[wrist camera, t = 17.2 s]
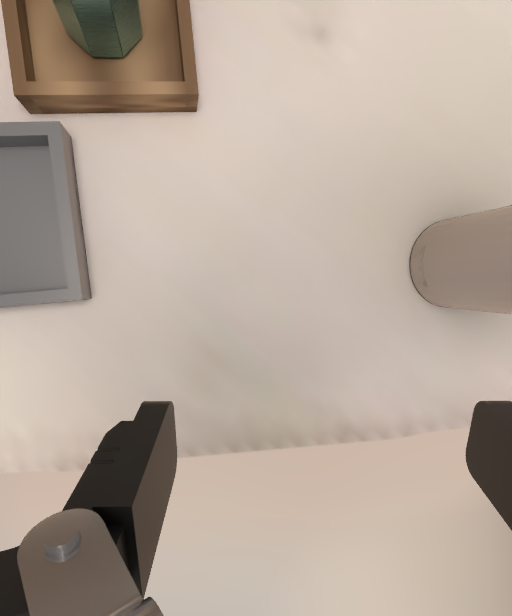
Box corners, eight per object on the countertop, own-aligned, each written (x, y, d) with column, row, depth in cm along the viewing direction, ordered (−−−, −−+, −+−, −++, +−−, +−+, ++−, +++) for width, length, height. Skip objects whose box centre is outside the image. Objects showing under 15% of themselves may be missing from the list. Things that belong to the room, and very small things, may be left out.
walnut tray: (180, -53, 35) (180, -89, 32) (196, 111, 37) (198, 94, 33) (6, -64, 33) (-14, -104, 29) (30, 113, 34) (14, 95, 31)
